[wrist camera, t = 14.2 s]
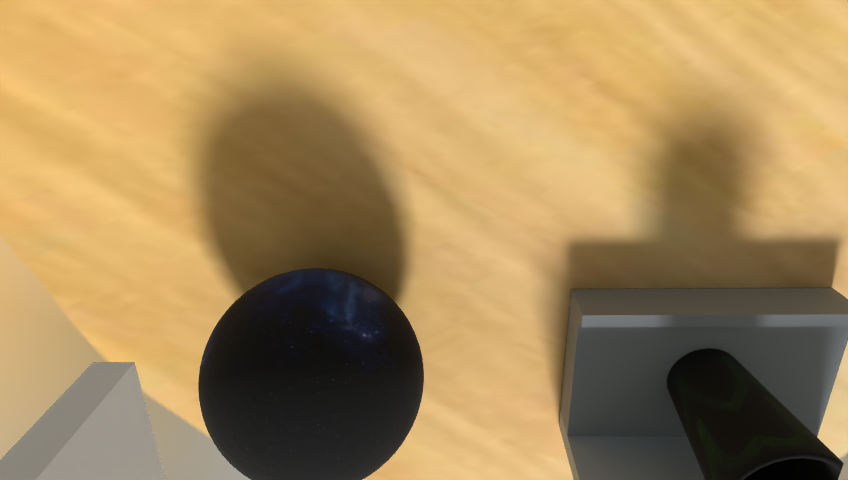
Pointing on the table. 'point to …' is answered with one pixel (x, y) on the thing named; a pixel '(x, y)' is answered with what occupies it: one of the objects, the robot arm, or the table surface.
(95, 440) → the robot arm
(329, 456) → the decorative sphere
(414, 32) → the table surface
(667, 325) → the shelf
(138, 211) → the table surface
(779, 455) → the cup
